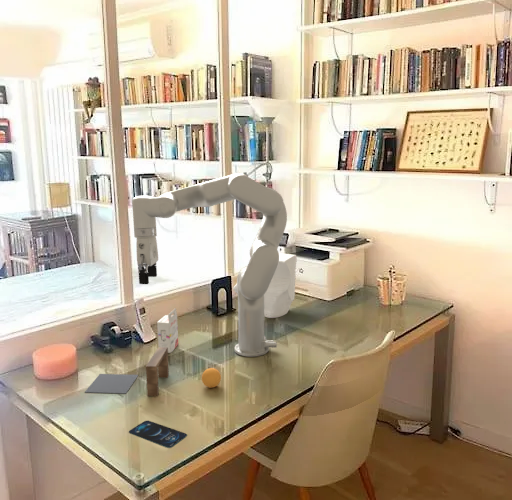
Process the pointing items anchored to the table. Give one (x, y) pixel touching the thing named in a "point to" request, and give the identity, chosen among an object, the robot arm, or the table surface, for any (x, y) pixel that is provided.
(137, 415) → the table surface
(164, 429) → the smartphone
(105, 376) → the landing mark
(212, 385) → the ball
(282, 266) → the white curved block
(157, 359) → the bridge
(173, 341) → the ink cartridge box
